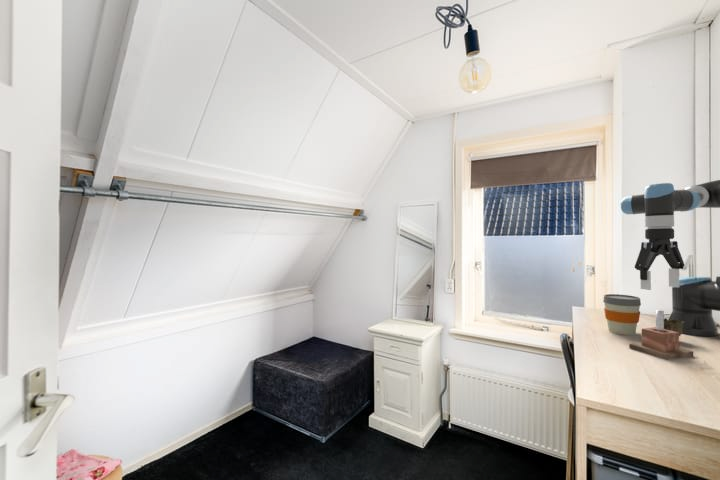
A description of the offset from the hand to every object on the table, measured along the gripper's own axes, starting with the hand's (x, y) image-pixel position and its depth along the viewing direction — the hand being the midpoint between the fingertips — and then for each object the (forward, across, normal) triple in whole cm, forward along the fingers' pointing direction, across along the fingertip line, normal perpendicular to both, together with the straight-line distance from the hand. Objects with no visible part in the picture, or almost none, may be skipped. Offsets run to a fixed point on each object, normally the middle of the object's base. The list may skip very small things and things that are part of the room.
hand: (660, 288), depth 114 cm
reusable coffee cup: (+23, -12, -22) cm, 34 cm away
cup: (+23, -18, -8) cm, 30 cm away
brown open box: (+21, 0, 0) cm, 21 cm away
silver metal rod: (+21, 0, 0) cm, 21 cm away
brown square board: (+23, 0, 0) cm, 23 cm away
